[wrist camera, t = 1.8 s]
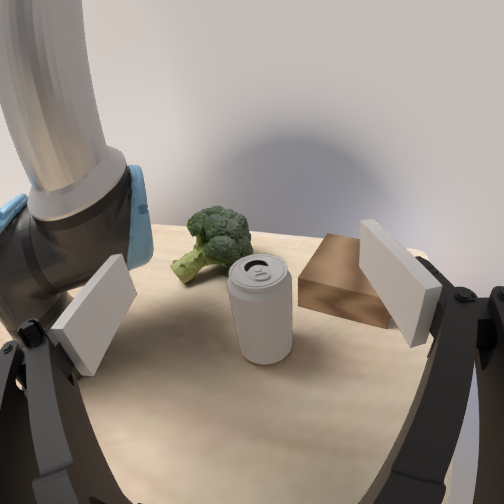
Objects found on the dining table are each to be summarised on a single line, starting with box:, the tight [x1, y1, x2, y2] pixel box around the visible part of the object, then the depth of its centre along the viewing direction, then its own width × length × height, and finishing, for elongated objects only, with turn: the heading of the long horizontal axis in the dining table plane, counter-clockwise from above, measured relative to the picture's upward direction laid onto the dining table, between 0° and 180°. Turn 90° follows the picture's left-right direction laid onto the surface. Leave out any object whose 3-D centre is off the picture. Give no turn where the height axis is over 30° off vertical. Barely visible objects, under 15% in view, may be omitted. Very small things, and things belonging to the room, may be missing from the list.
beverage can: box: [227, 254, 292, 365], centre depth 30 cm, size 6×6×12 cm
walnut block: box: [298, 233, 391, 329], centre depth 39 cm, size 13×13×5 cm
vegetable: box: [170, 206, 253, 284], centre depth 45 cm, size 12×13×15 cm
